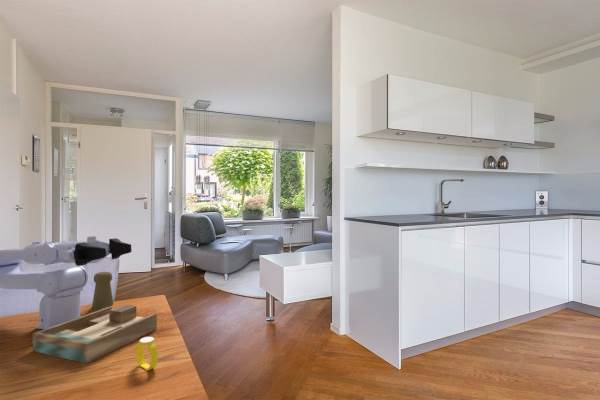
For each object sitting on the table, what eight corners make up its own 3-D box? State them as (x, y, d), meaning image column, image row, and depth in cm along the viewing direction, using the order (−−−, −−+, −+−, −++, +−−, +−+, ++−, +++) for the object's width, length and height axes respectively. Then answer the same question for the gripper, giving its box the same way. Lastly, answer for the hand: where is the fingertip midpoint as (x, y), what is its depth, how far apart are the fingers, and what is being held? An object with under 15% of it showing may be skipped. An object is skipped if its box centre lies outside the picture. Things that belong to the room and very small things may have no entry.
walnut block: (109, 321, 87) (109, 310, 87) (125, 315, 92) (125, 304, 92) (121, 323, 86) (121, 311, 86) (136, 317, 90) (136, 306, 90)
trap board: (32, 351, 75) (32, 333, 75) (108, 320, 94) (108, 306, 94) (87, 363, 70) (87, 344, 70) (156, 328, 89) (156, 313, 89)
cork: (103, 309, 103) (103, 274, 103) (87, 308, 105) (87, 273, 105) (117, 303, 109) (118, 270, 109) (102, 302, 111) (102, 269, 111)
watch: (160, 370, 68) (162, 341, 68) (147, 376, 66) (149, 346, 65) (144, 359, 71) (145, 332, 71) (131, 365, 69) (133, 337, 69)
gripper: (50, 240, 82) (90, 237, 77) (102, 234, 95) (139, 232, 91) (52, 268, 82) (92, 268, 77) (104, 258, 95) (141, 257, 91)
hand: (118, 250), depth 84 cm, fingers open, 7 cm apart
